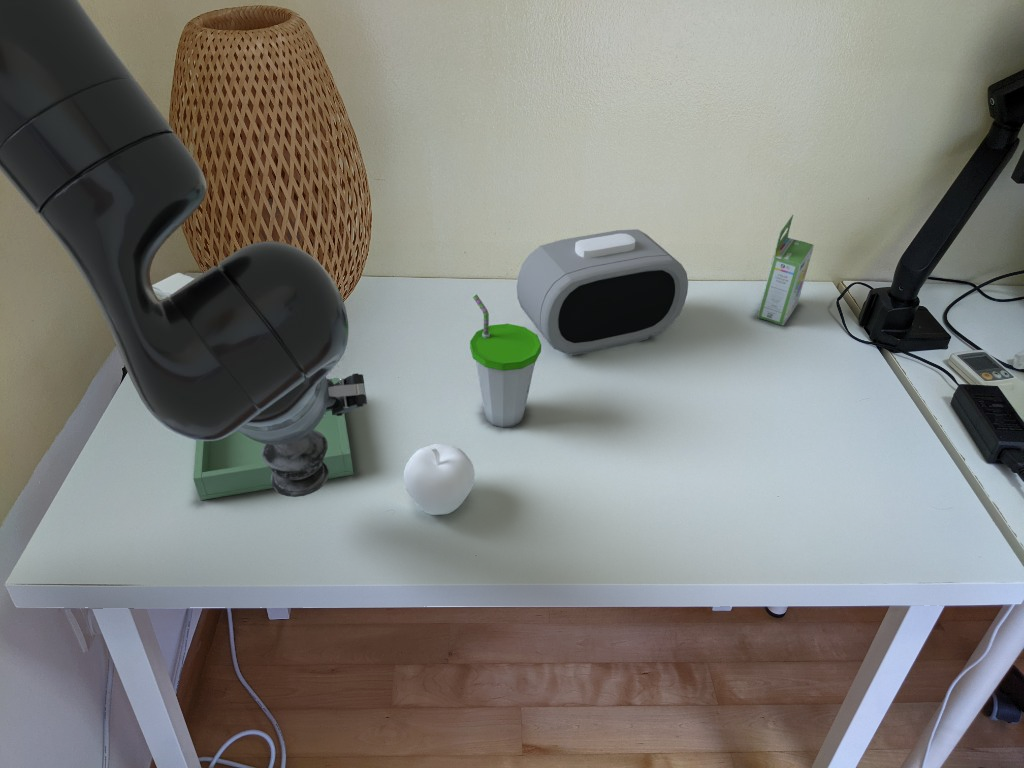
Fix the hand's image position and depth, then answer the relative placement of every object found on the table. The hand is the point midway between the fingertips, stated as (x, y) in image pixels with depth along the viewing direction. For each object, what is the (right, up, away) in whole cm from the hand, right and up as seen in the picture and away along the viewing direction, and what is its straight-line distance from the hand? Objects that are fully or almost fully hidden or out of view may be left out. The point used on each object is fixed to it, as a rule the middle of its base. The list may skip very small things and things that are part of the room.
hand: (289, 413), depth 70 cm
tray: (-6, -4, +16) cm, 17 cm away
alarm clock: (+32, +10, +35) cm, 49 cm away
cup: (+19, -1, +21) cm, 28 cm away
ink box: (+58, +13, +41) cm, 72 cm away
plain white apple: (+13, -10, +9) cm, 19 cm away
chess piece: (0, -6, +2) cm, 7 cm away
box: (-20, +6, +28) cm, 35 cm away
